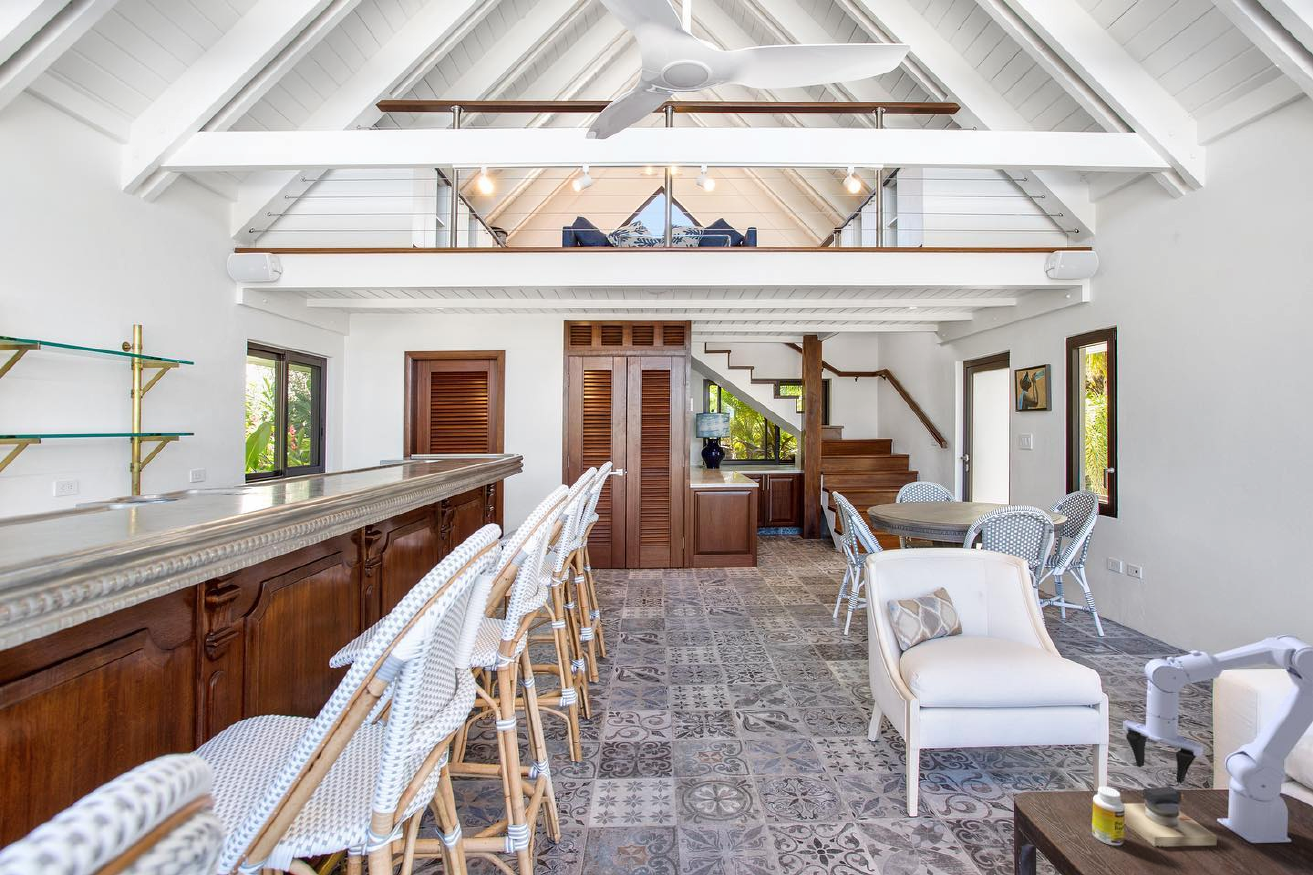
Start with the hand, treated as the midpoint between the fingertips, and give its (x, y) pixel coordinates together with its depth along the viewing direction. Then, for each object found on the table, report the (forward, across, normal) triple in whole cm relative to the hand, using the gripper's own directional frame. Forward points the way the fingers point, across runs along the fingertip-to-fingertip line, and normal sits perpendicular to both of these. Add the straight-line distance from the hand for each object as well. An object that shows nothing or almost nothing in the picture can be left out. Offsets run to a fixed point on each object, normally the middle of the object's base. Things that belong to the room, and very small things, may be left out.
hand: (1160, 773), depth 146 cm
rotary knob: (+5, +3, -5) cm, 8 cm away
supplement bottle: (+10, -2, -20) cm, 23 cm away
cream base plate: (+9, +2, -6) cm, 11 cm away
